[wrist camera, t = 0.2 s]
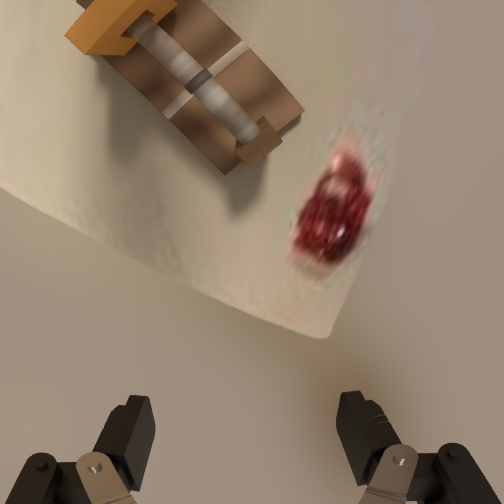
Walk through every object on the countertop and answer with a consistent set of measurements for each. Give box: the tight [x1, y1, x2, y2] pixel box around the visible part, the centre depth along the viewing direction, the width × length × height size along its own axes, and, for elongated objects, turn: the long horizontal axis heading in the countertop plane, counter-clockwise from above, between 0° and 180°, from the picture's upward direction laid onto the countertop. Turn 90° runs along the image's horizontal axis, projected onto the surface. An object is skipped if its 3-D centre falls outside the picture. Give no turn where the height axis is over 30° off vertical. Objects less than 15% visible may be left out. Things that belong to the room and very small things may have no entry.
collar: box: [64, 0, 178, 56], centre depth 21 cm, size 3×8×10 cm, turn 131°
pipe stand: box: [76, 0, 305, 175], centre depth 27 cm, size 26×12×8 cm, turn 41°
